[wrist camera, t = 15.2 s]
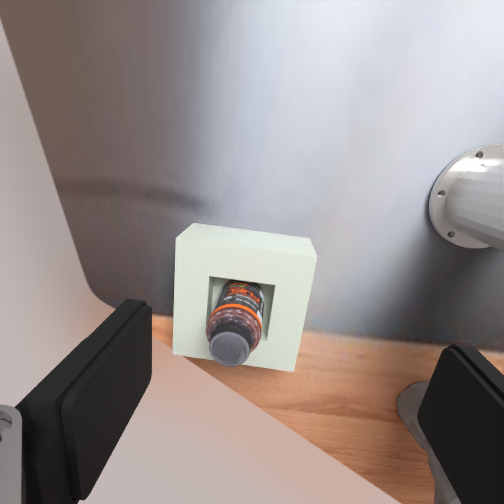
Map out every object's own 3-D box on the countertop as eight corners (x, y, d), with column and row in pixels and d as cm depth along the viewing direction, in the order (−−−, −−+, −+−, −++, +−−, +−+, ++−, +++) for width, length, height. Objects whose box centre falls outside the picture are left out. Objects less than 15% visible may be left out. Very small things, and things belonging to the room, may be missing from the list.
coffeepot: (399, 436, 49) (465, 585, 32) (373, 398, 47) (429, 537, 30) (490, 400, 46) (620, 547, 29) (467, 358, 43) (592, 489, 26)
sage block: (309, 238, 39) (317, 256, 32) (290, 337, 44) (293, 371, 37) (193, 222, 39) (175, 238, 32) (188, 322, 45) (172, 354, 38)
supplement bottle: (267, 277, 37) (264, 327, 26) (262, 317, 39) (258, 379, 28) (221, 272, 37) (200, 320, 27) (218, 312, 39) (198, 372, 28)
